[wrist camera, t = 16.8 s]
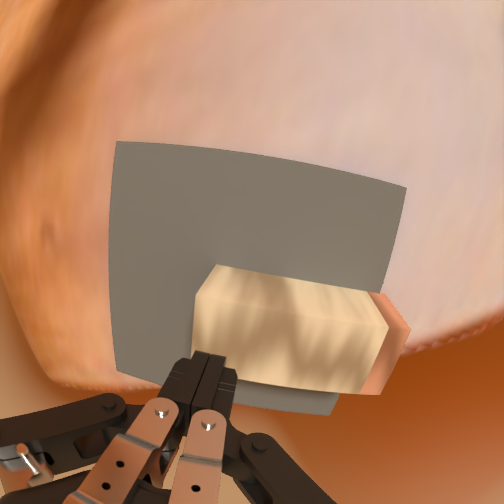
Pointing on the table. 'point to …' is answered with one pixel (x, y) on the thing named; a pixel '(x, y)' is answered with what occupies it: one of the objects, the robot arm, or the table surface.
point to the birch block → (298, 331)
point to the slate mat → (232, 245)
